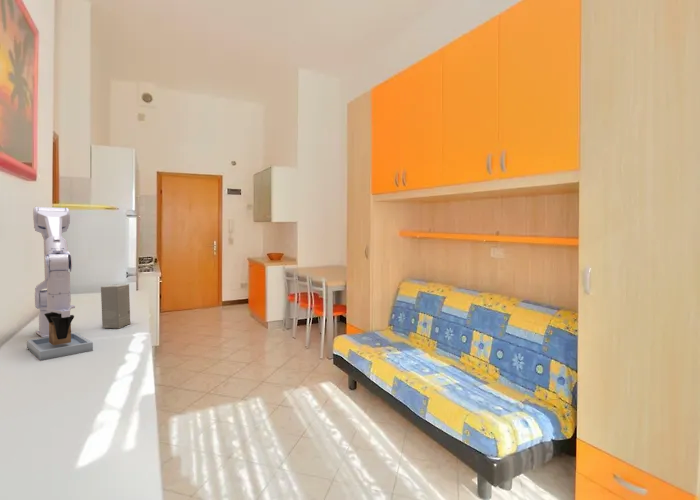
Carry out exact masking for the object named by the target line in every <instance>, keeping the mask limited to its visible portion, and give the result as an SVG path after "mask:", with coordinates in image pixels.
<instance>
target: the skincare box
mask: <svg viewBox="0 0 700 500" xmlns="http://www.w3.org/2000/svg"><path fill="white" fill-rule="evenodd" d="M100 293H101V294H100V299H101V301H100V302H101V323H102V327H101V328H102V329H121V328H124V327H125V326H127V325H130V324H131V306H130V284H129V283H128V284H126V283H125V284H124V283H123V284H119V283H118V284H110V285H108V284H107V285H103V286H100Z"/></svg>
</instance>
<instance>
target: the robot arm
mask: <svg viewBox="0 0 700 500" xmlns="http://www.w3.org/2000/svg"><path fill="white" fill-rule="evenodd" d="M32 212H33V213H32V216H33V217H32V218H33V229H34V231H35V232H36V233H40V234H41V237H42V239H43V259H44V260H43V263H44V280H43V281H41V282H40V283H38V284H37V285H36V287H34V290H35V291H34V307H35V309H39V313H38V330H35V333H36V334H37V335H39V336H40V338H45V337H49V323H54V326H55V330H56V335H57V338H58V339H64V338H67V334H68V330H69V326H70V324H71V325H72V321H73V319H74V318H75V315H74V314H71V310H72V309H75V308H76V306H75V305H74V304H73V305H72V304H71V302H72V301H71V300H72V299H71V297H72V296H71V272H72V269H73V258H72V255H71V253H70V251H69V248H68V242H67V241H68V240H67V239H66V238H64V237H63V233H66V232H68V229H69V226H70V223H71V214H70V213H71V212H70V209H69V208H68V207H49V206H47V207H46V206H37V205H36V206H34V207H33V211H32ZM45 289H46V290H45Z"/></svg>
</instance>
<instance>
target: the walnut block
mask: <svg viewBox="0 0 700 500" xmlns="http://www.w3.org/2000/svg"><path fill="white" fill-rule="evenodd" d="M71 333H72V323H71V324H70V326H69V330H68V334H67V338H64V339H58V338H57V335H56V330H55V326H54V323H49V343H51V344H52V345H59V344H64V343H70V342H71Z"/></svg>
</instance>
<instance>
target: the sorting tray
mask: <svg viewBox="0 0 700 500" xmlns="http://www.w3.org/2000/svg"><path fill="white" fill-rule="evenodd" d="M27 348H28V349H29V350H30V351H31V352H30V351H29V350H28V349H27ZM26 349H27V350H28V351H29V352H30V353H32V354H33V355H34V356H35V357H36V358H37V359H38V360H39V361H44V360H50V359H56V358H60V357H61V358H62V357H65V356H72V355H76V354H81V353H87V352H92V351H94V343H93V341H91V340H89V339H88V338H86V337H84V336H83V335H81V334H80V333H77V332H73V333H72V332H71V342H70V343H64V344H59V345H52V344H51V343H49V337H40V338H34V339H29V340H26Z"/></svg>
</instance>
